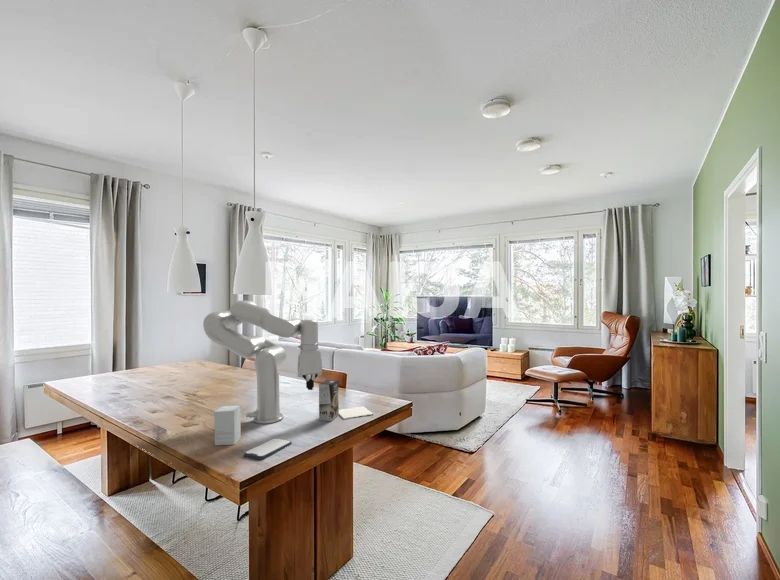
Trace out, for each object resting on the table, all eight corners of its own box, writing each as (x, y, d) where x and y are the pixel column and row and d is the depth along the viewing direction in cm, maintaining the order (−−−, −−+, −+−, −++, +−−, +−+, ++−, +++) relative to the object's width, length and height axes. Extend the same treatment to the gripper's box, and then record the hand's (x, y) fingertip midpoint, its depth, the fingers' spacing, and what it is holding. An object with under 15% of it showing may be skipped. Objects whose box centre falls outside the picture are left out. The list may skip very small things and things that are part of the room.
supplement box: (241, 437, 147) (241, 405, 147) (234, 445, 140) (234, 410, 140) (222, 438, 147) (221, 405, 147) (214, 445, 140) (213, 411, 140)
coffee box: (332, 421, 165) (332, 384, 165) (318, 420, 166) (318, 383, 166) (339, 414, 174) (339, 379, 174) (326, 414, 175) (325, 379, 175)
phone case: (274, 441, 144) (242, 457, 130) (274, 437, 144) (242, 452, 130) (293, 445, 141) (261, 462, 126) (293, 441, 141) (261, 457, 126)
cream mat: (343, 419, 167) (343, 418, 167) (335, 411, 179) (335, 410, 179) (373, 415, 173) (373, 413, 173) (363, 407, 184) (363, 406, 184)
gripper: (293, 350, 160) (294, 393, 160) (328, 347, 166) (328, 389, 166) (290, 347, 167) (291, 389, 167) (324, 345, 173) (324, 385, 173)
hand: (310, 389), depth 166 cm, fingers closed
